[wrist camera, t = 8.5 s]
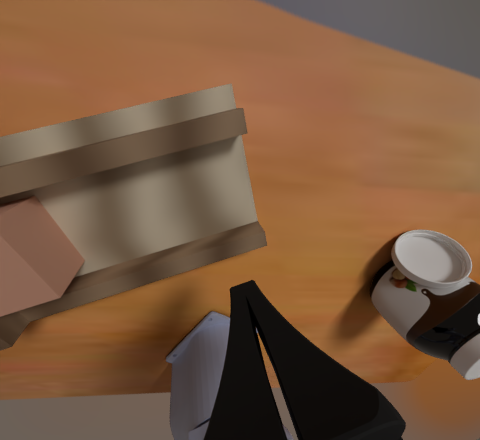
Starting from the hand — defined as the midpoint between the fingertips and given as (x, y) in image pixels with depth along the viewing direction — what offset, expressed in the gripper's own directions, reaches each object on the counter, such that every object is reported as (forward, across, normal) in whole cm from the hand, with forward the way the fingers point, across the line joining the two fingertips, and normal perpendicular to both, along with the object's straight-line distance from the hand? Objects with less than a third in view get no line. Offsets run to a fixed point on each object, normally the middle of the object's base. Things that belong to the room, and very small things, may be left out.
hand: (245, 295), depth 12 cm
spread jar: (+9, -21, +15) cm, 27 cm away
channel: (+9, +7, -3) cm, 12 cm away
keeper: (+8, +14, -4) cm, 17 cm away
